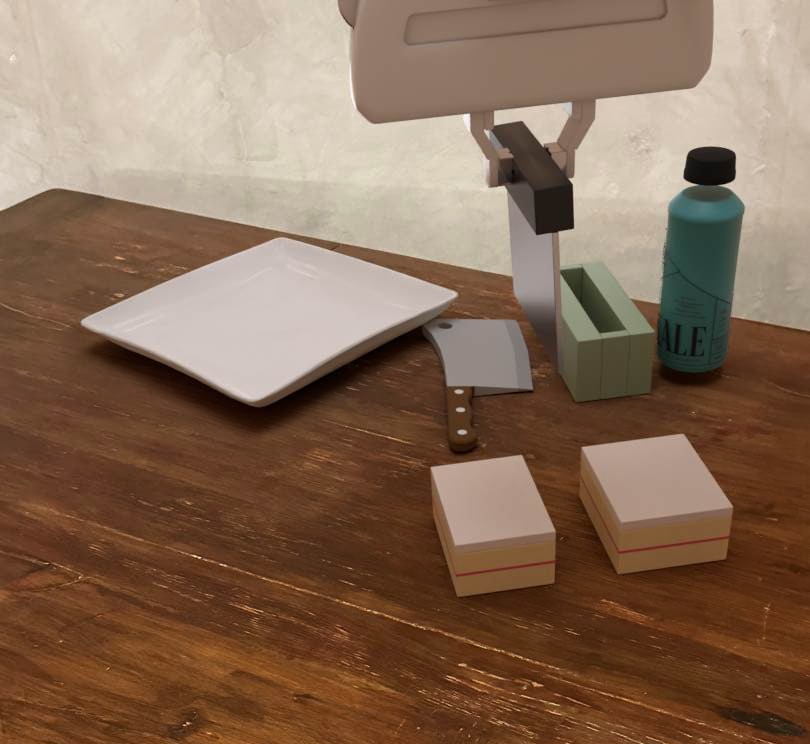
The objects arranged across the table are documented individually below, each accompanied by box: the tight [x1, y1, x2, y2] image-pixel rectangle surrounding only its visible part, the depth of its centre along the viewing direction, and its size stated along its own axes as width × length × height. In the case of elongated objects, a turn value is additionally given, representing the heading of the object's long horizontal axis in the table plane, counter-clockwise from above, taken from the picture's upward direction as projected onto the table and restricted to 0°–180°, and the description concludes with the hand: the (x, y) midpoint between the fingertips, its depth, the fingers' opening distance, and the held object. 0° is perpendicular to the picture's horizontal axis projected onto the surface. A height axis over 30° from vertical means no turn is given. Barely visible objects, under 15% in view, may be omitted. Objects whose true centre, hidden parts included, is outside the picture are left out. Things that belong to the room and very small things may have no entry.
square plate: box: [80, 236, 459, 408], centre depth 112 cm, size 27×27×4 cm
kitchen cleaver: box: [421, 318, 534, 452], centre depth 103 cm, size 24×1×10 cm
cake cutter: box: [488, 120, 575, 375], centre depth 69 cm, size 2×12×12 cm, turn 9°
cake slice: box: [430, 454, 557, 598], centre depth 82 cm, size 7×10×5 cm
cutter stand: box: [559, 260, 656, 403], centre depth 104 cm, size 7×16×6 cm, turn 8°
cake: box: [578, 433, 734, 575], centre depth 83 cm, size 8×10×5 cm
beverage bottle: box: [654, 145, 746, 373], centre depth 96 cm, size 6×7×20 cm
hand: (529, 180), depth 67 cm, fingers closed on cake cutter, 2 cm apart
